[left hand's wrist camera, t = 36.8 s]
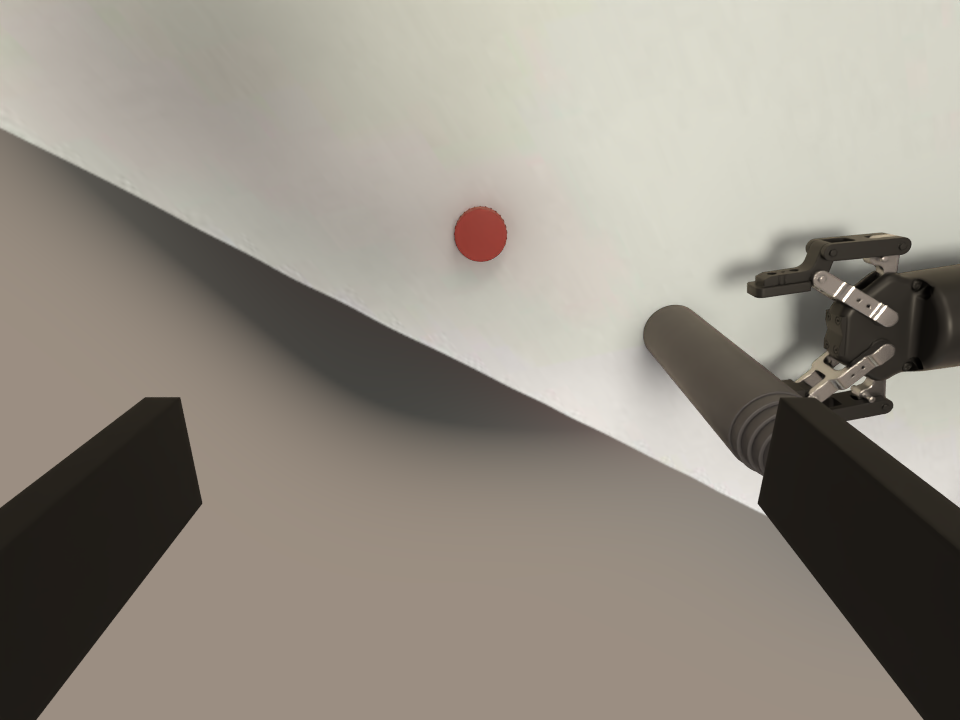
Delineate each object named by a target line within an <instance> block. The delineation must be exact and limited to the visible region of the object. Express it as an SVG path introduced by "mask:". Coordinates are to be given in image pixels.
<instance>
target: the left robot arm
mask: <svg viewBox="0 0 960 720" xmlns="http://www.w3.org/2000/svg"><path fill="white" fill-rule="evenodd" d="M201 505H202V499H201V495H200V490H199V485H198V480H197V476H196V471H195V466H194V461H193V456H192V452H191V447H190V442H189V437H188V433H187V428H186V423H185V418H184V414H183V409H182V404H181V399H180V397H145V398H144V399H142V400H141V401H140V402H138V403H137V404H136V405H135V406H133V407H132V408H131V409H129V410H128V411H127V412H125V413H124V414H123V415H122V416H120V417H119V418H117V419H116V420H115V421H114V422H112V423H111V424H110V425H108V426H107V427H106V428H104V429H103V430H102V431H100V432H99V433H98V434H97V435H95V436H94V437H93V438H91V439H90V440H89V441H87V442H86V443H85V444H83V445H82V446H81V447H79V448H78V449H77V450H76V451H74V452H73V453H72V454H70V455H69V456H68V457H66V458H65V459H64V460H62V461H61V462H60V463H59V464H57V465H56V466H55V467H53V468H52V469H51V470H49V471H48V472H47V473H45V474H44V475H43V476H41V477H40V478H39V479H38V480H36V481H35V482H34V483H32V484H31V485H30V486H28V487H27V488H26V489H24V490H23V491H22V492H21V493H19V494H18V495H17V496H15V497H14V498H13V499H11V500H10V501H9V502H7V503H6V504H5V505H3V506H2V507H1V508H0V720H36V719H37V718H38V717H39V715H40V714H41V713H42V712H43V710H44V709H45V708H46V706H47V705H48V704H49V703H50V701H51V700H52V699H53V697H54V696H55V695H56V693H57V692H58V691H59V689H60V688H61V687H62V686H63V684H64V683H65V682H66V680H67V679H68V678H69V676H70V675H71V674H72V673H73V671H74V670H75V669H76V667H77V666H78V665H79V663H80V662H81V661H82V660H83V658H84V657H85V656H86V654H87V653H88V652H89V650H90V649H91V648H92V646H93V645H94V644H95V643H96V641H97V640H98V639H99V637H100V636H101V635H102V633H103V632H104V631H105V630H106V628H107V627H108V626H109V624H110V623H111V622H112V620H113V619H114V618H115V617H116V615H117V614H118V613H119V611H120V610H121V609H122V607H123V606H124V605H125V603H126V602H127V601H128V600H129V598H130V597H131V596H132V594H133V593H134V592H135V591H136V589H137V588H138V587H139V585H140V584H141V583H142V581H143V580H144V579H145V578H146V576H147V575H148V574H149V572H150V571H151V570H152V568H153V567H154V566H155V564H156V563H157V562H158V561H159V559H160V558H161V557H162V555H163V554H164V553H165V551H166V550H167V549H168V548H169V546H170V545H171V544H172V542H173V541H174V540H175V538H176V537H177V536H178V534H179V533H180V532H181V531H182V529H183V528H184V527H185V525H186V524H187V523H188V521H189V520H190V519H191V518H192V516H193V515H194V514H195V512H196V511H197V510H198V508H199V507H200V506H201ZM758 505H759V506H760V507H761V508H762V510H763V511H764V512H765V514H766V515H767V516H768V518H769V519H770V520H771V522H772V523H773V524H774V525H775V527H776V528H777V529H778V530H779V532H780V533H781V534H782V536H783V537H784V538H785V540H786V541H787V542H788V544H789V545H790V546H791V548H792V549H793V550H794V551H795V553H796V554H797V555H798V557H799V558H800V559H801V561H802V562H803V563H804V564H805V566H806V567H807V568H808V570H809V571H810V572H811V574H812V575H813V576H814V578H815V579H816V580H817V581H818V583H819V584H820V585H821V587H822V588H823V589H824V591H825V592H826V593H827V594H828V596H829V597H830V598H831V600H832V601H833V602H834V604H835V605H836V606H837V607H838V609H839V610H840V611H841V613H842V614H843V615H844V617H845V618H846V619H847V620H848V622H849V623H850V624H851V626H852V627H853V628H854V630H855V631H856V632H857V633H858V635H859V636H860V637H861V639H862V640H863V641H864V643H865V644H866V645H867V647H868V648H869V649H870V650H871V652H872V653H873V654H874V656H875V657H876V658H877V660H878V661H879V662H880V663H881V665H882V666H883V667H884V669H885V670H886V671H887V673H888V674H889V675H890V676H891V678H892V679H893V680H894V682H895V683H896V684H897V686H898V687H899V688H900V689H901V691H902V692H903V693H904V695H905V696H906V697H907V698H908V700H909V701H910V703H911V704H912V705H913V706H914V708H915V709H916V710H917V712H918V713H919V714H920V716H921V717H922V718H923V719H924V720H960V508H959V507H958V506H957V505H955V504H954V503H953V502H951V501H950V500H949V499H947V498H946V497H945V496H943V495H942V494H941V493H940V492H938V491H937V490H936V489H934V488H933V487H932V486H930V485H929V484H928V483H926V482H925V481H924V480H922V479H921V478H920V477H919V476H917V475H916V474H915V473H913V472H912V471H911V470H909V469H908V468H907V467H905V466H904V465H903V464H901V463H900V462H899V461H898V460H896V459H895V458H894V457H892V456H891V455H890V454H888V453H887V452H886V451H884V450H883V449H882V448H881V447H879V446H878V445H877V444H875V443H874V442H873V441H871V440H870V439H869V438H867V437H866V436H865V435H863V434H862V433H861V432H860V431H858V430H857V429H856V428H854V427H853V426H852V425H850V424H849V423H848V422H846V421H845V420H844V419H843V418H841V417H840V416H839V415H837V414H836V413H835V412H833V411H832V410H831V409H829V408H828V407H827V406H825V405H824V404H823V403H822V402H820V401H819V400H818V399H816V398H815V397H780V399H779V404H778V409H777V413H776V418H775V423H774V428H773V433H772V437H771V442H770V447H769V452H768V456H767V461H766V466H765V471H764V476H763V480H762V485H761V490H760V495H759V499H758Z"/></svg>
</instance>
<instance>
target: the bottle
mask: <svg viewBox="0 0 960 720" xmlns="http://www.w3.org/2000/svg"><path fill="white" fill-rule="evenodd" d="M644 342H645V345H646V347H647V349H648V350H649V351H650V353H651V354H652V355H653V356H654V358H655V359H656V360H657V361H658V362H659V364H660V365H661V366H662V367H663V369H664V370H665V371H666V372H667V373H668V375H669V376H670V377H671V378H672V380H673V381H674V382H675V383H676V384H677V386H678V387H679V388H680V389H681V391H682V392H683V393H684V394H685V395H686V397H687V398H688V399H689V400H690V402H691V403H692V404H693V405H694V406H695V408H696V409H697V410H698V411H699V413H700V414H701V415H702V416H703V418H704V419H705V420H706V421H707V422H708V424H709V425H710V426H711V427H712V429H713V430H714V431H715V432H716V433H717V435H718V436H719V437H720V438H721V440H722V441H723V442H724V443H725V444H726V446H727V447H728V448H729V449H730V451H731V452H732V453H733V454H734V455H735V457H736V458H737V459H738V460H740V461H741V462H742V463H744V464H745V465H746V466H747V467H748V468H750V469H751V470H753V471H756V472H758V473H759V474H761V475H762V476H764V471H765V466H766V461H767V456H768V452H769V447H770V442H771V437H772V433H773V428H774V423H775V418H776V413H777V409H778V404H779V399H780V397H802V396H800V395H799V394H798V393H797V392H795V391H794V390H793V389H791V388H790V387H789V386H788V385H786V384H785V383H784V382H783V381H781V380H780V379H779V378H777V377H776V376H775V375H774V374H772V373H771V372H770V371H769V370H767V369H766V368H765V367H763V366H762V365H761V364H760V363H758V362H757V361H756V360H755V359H753V358H752V357H751V356H749V355H748V354H747V353H746V352H744V351H743V350H742V349H741V348H739V347H738V346H737V345H735V344H734V343H733V342H732V341H730V340H729V339H728V338H727V337H725V336H724V335H723V334H721V333H720V332H719V331H718V330H716V329H715V328H714V327H713V326H711V325H710V324H709V323H707V322H706V321H705V320H704V319H702V318H701V317H700V316H698V315H697V314H696V313H695V312H693V311H692V310H691V309H689V308H687V307H685V306H680V305H671V306H666V307H664V308H662V309H660V310H658V311H657V312H655V313H654V314H653V315H652V316H651V317H650V318H649V320H648V321H647V323H646V326H645V329H644Z"/></svg>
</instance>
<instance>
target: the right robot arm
mask: <svg viewBox="0 0 960 720" xmlns="http://www.w3.org/2000/svg"><path fill="white" fill-rule="evenodd" d="M910 248H911V241H910V239H908V238H905V237H901V236H896V235H891V234H887V233H872V234H861V235H851V236H840V237H829V238H819V239H812V240H810V241H809V242H808V243H807V245H806V252H807V255H806V258H805V260H804V262H803V263H802V264H801V265H800V266H798V267H795V268H788V269H782V270H776V271H768V272H762V273H760V274H758V275H757V276H755V281H753V282H748V283H747V293H749V294H750V295H752V296H754V297H757V298H766V297H773V296H780V295H786V294H793V293H800V292H807V291H811V287H813V288H815V289H816V290H817V291H819V292H820V293H822V294H824V295H825V296H827V297H829V298H830V299H832V300H834V301H835V302H834V303H833V304H832V306H831V307H830V309H829V310H826V319H825V320H826V324H827V328H828V329H827V332H826V335H825V338H824V348H825V349H827V351H826V352H825V353H824V354H823V355H821V356H820V357H819V358H818V359H816V360H815V361H814V362H813V363H812V368H811V369H810V370H809V371H808V372H806V373H805V374H804V375H803V376H801V377H800V378H799V379H798V380H796V381H795V382H794V381H792V380H791V379H788V380H781V381H783V382H784V383H785V384H786V385H788V386H789V387H790V388H791V389H793V390H794V391H795V392H797V393H798V394H799V395H800V396H802V397H815V398H816V399H818V400H819V401H820V402H822V403H823V404H824V405H825V406H827V407H828V408H829V409H831V410H832V411H833V412H835V413H836V414H837V415H839V416H840V417H841V418H843V419H844V420H845V421H849V420H854V419H860V418H865V417H870V416H876V415H881V414H886V413H888V412H890V411H891V410H892V408H893V403H892V401H890V400H889V399H887V398H886V397H885V391H886V379H888V378H890V377H892V376H893V375H895V374H897V373H900V372H906V371H926V370H934V369H941V368H948V367H955V366H960V264H957V265H950V266H944V267H937V268H930V269H924V270H917V271H910V272H904V273H897V268H898V262H899V256H900V255H903V254H905V253H907V252H908V251H909V250H910ZM862 258H863V261H864V262H866V263H869V264H872V265H875V267H876V271H873V272H871V273H870V274H868V275H867V276H866V277H864V278H863V279H862V280H861V281H859V282H858V283H857V284H856V285H854V286H851V285H849V284H847V283H845V282H844V281H842V280H840V279H839V278H837V277H835V276H834V275H832V274H830V273H829V270H830V268H831V266H832V263H833V261H840V260H851V259H862ZM839 363H841V364H843V365H845V366H846V367H845V368H843V369H841V370H834V369H833V368H834V367H835V366H836V365H837V364H839ZM863 376H866V380H865V381H864V382H863V383H862V384H860V385H857V386H856V385H853V386H851V385H852V384H854V383H855V382H856V381H858V380H859V379H860V378H861V377H863ZM850 386H851V388H850V389H851V390H850V391H845V392H840V393H835V392H836V391H837V390H844V389H847V388H848V387H850ZM833 393H835V394H833Z"/></svg>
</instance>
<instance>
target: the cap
mask: <svg viewBox="0 0 960 720" xmlns="http://www.w3.org/2000/svg"><path fill="white" fill-rule="evenodd" d="M454 235H455V242H456V246H457V247H458V249H459V251H460V252H461V253H462V254H463V255H464V256H465V257H467V258H468V259H470V260H473V261H478V262H483V261H488V260H491V259H493V258H495V257H496V256H497V255H499V254H500V252H501V251H502V250H503V248H504V246H505V244H506V239H507V230H506V225H505V224H504V220H502V218H501V215H499V214H498V213H497V212H496V211H494V210H492V208H487V207H486V206H485V207H481V206H480V207H474V208H472V209H469V210H468V211H466V212H464V214H463V215H462V216H460V219H459V220H458V221H457V226H455V233H454Z"/></svg>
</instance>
